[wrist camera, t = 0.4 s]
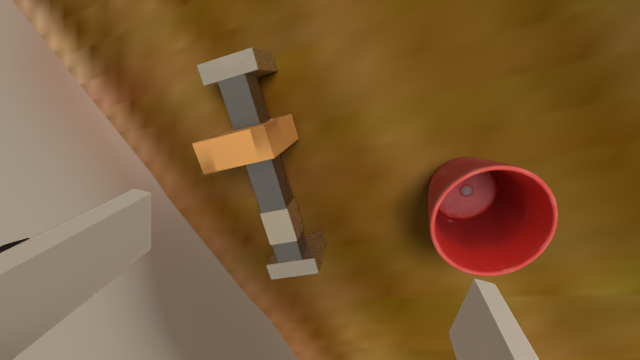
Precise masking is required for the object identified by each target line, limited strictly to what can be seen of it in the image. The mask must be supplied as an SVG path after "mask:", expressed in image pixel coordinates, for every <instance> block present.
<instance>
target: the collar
mask: <svg viewBox="0 0 640 360" xmlns="http://www.w3.org/2000/svg"><path fill="white" fill-rule="evenodd" d="M269 120H270V121H268V122H266V123H262V124H258V125H254V126H251V127H247V128H243V129H239V130H235V131H234V129H232V130H229V131H226V132H224V133H221V134H218V135H215V136H212V137H210V138H207V139H204V140H201V141H198V142H196V143H193V147H194V150H195V152H196V155H197V158H198V160H199V163H200V166H201V168H202V171H203V174H208V173H212V172H217V171H221V170H225V169H230V168H234V167H238V166H243V165H247V164H252V163H256V162H260V161H265V160H269V159H273V158H275V157H276V156H278V155H279V154H280V153H281V152H283V151H284V150H285V149H286V148H288V147H289V146H290V145H291V144H293V143H294V142H295V141H296V140H298V139H299V138H298V135H297V131H296V128H295V124H294V121H293V117H292V114H288V115H284V116H280V117H276V118H273V119H269Z"/></svg>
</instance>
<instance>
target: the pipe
mask: <svg viewBox="0 0 640 360" xmlns="http://www.w3.org/2000/svg"><path fill="white" fill-rule="evenodd" d="M197 67H198V70H199V73H200V76H201V79H202V81H203V84H204V86H210V85H219V87H220V90H221V93H222V96H223V99H224V102H225V105H226V108H227V111H228V114H229V117H230V120H231V123H232V126H233V129H234V131H235V130H239V129H243V128H247V127H251V126H254V125H258V124H262V123H266V122H268V121H270V120H269V117H268V114H267V110H266V107H265V104H264V100H263V97H262V94H261V90H260V87H259V84H258V80H257V77H259V76H263V75H266V74H269V73H273V72H276V71H278V69H277V66H276V62H275V58H274V55H273V53H271V52H267V51H263V50H259V49H256V48H249V49H246V50H243V51H240V52H236V53H233V54H230V55H227V56H224V57H221V58H218V59H215V60H212V61H209V62H205V63H202V64H199V65H197ZM246 168H247V171H248V174H249V177H250V180H251V183H252V186H253V189H254V192H255V195H256V198H257V201H258V204H259V207H260V210H261V213H260V216H261V219H262V222H263V225H264V228H265V231H266V234H267V237H268V240H269V243H270V245H272V246H273V249H274V253H273V254H272V256H271V258H270V260H269V261H268V263H267V265H266V266H267V269H268V272H269V275H270V277H271V279H279V278H286V277H294V276H302V275H309V274H317V273H319V271H320V267H321V264H322V260H323V256H324V253H325V249H326V246H327V243H326V240H325V236H324V233H323V231H322V232H316V233H310V234H304V233H303V225H302V221H301V218H300V215H299V211H298V208H297V205H296V201H295V198H293V197H292V194H291V190H290V187H289V184H288V180H287V177H286V174H285V170H284V167H283V164H282V160H281V157H280V154H279V155H278V156H276V157H275V158H273V159H269V160H265V161H260V162H256V163H252V164H247V165H246Z"/></svg>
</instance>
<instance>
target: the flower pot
mask: <svg viewBox="0 0 640 360" xmlns="http://www.w3.org/2000/svg"><path fill="white" fill-rule="evenodd" d="M428 216H429V228H430V235H431V239H432V242H433V245H434V247H435V249H436V250H437V252H438V253H439V255H440V256H441V257H442V258H443V259H444V260H445V261H446V262H447V263H448V264H450V265H451V266H453V267H454V268H456V269H458V270H460V271H462V272H465V273H468V274H472V275H479V276H497V275H503V274H507V273H510V272H513V271H516V270H518V269H520V268H522V267H524V266H526V265H528V264H529V263H531V262H532V261H533V260H535V259H536V258H537V257H538V256H539V255H540V254H541V253H542V252H543V251H544V250H545V249H546V247H547V246H548V244H549V243H550V241H551V239H552V238H553V236H554V233H555V230H556V227H557V220H558V209H557V204H556V200H555V198H554V195H553V193H552V192H551V190H550V188H549V187H548V186H547V184H546V183H545V182H544V181H543V180H542V179H541V178H540V177H538V176H537V175H536V174H534V173H533V172H531V171H529V170H526V169H523V168H520V167H517V166H513V165H508V164H503V163H498V162H493V161H488V160H482V159H476V158H458V159H454V160H452V161H449V162H447V163H446V164H444V165H443V166H441V167H440V168H439V169H438V170H437V171H436V172H435V173H434V175H433V177H432V178H431V181H430V184H429V191H428Z"/></svg>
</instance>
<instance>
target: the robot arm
mask: <svg viewBox="0 0 640 360" xmlns="http://www.w3.org/2000/svg"><path fill="white" fill-rule="evenodd" d="M151 202H152V193H150V192H146V191H143V190H139V189H135V188H134V189H132V190H130V191H128V192H126V193H124V194H122V195H119V196H118V197H115V198H113V199H111V200H109V201H107V202H105V203H103V204H101V205H99V206H97V207H95V208H93V209H91V210H88V211H86V212H84V213H82V214H80V215H78V216H76V217H74V218H72V219H70V220H68V221H66V222H64V223H62V224H59V225H57V226H55V227H53V228H51V229H49V230H47V231H45V232H43V233H41V234H39V235H37V236H35V237H33V238H27V239H23V240H20V241H16V242H13V243H9V244H5V245H3V246H1V247H0V360H12V359H14V358H15V357H16V356H17V355H18V354H20V353H21V352H22V351H24V350H25V349H26V348H27V347H28V346H30V345H31V344H32V343H34V342H35V341H36V340H37V339H39V338H40V337H41V336H42V335H43V334H45V333H46V332H47V331H49V330H50V329H51V328H52V327H54V326H55V325H56V324H58V323H59V322H60V321H61V320H63V319H64V318H65V317H66V316H67V315H69V314H70V313H71V312H73V311H74V310H75V309H76V308H78V307H79V306H80V305H81V304H83V303H84V302H85V301H86V300H88V299H89V298H90V297H91V296H93V295H94V294H95V293H97V292H98V291H99V290H100V289H101V288H103V287H104V286H105V285H107V284H108V283H109V282H110V281H112V280H113V279H114V278H115V277H116V276H118V275H119V274H120V273H122V272H123V271H124V270H125V269H127V268H128V267H129V266H130V265H132V264H133V263H134V262H136V261H137V260H138V259H139V258H141V257H142V256H143V255H144V254H146V253H147V252H148V251H149V250H151ZM449 335H450V339H451V342H452V345H453V349H454V352H455V356H456V359H457V360H539V359H538V357H537V355H536V354H535V352H534V350H533V348H532V347H531V345H530V343H529V342H528V340H527V338H526V337H525V335H524V333H523V331H522V330H521V328H520V326H519V325H518V323H517V321H516V319H515V318H514V316H513V314H512V313H511V311H510V309H509V307H508V306H507V304H506V302H505V301H504V299H503V297H502V295H501V294H500V292H499V290H498V289H497V287H496V285H495V284H493V283H489V282H485V281H482V280H478V279H474V280H473V282H472V284H471V286H470V289H469V291H468V293H467V295H466V297H465V299H464V301H463V304H462V306H461V308H460V310H459V312H458V314H457V316H456V319H455V321H454V323H453V325H452V327H451V329H450V331H449Z"/></svg>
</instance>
